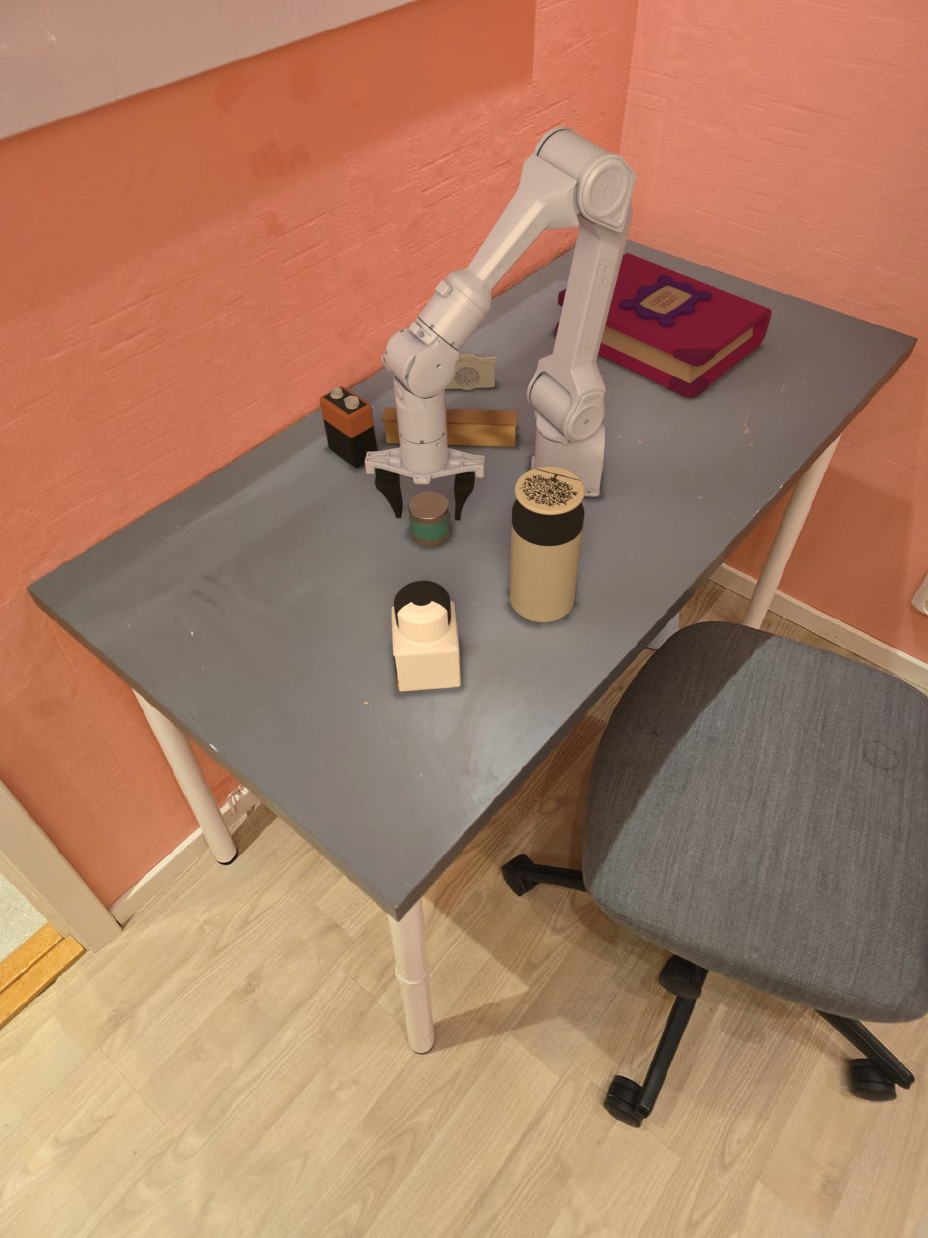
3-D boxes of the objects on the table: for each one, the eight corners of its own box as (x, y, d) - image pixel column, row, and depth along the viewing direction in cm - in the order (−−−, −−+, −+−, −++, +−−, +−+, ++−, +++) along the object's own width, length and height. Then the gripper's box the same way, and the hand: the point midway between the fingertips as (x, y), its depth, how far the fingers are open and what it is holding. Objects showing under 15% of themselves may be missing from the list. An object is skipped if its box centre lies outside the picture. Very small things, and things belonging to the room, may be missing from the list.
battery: (356, 470, 120) (347, 412, 113) (327, 449, 124) (316, 391, 116) (379, 456, 122) (372, 398, 115) (350, 436, 125) (341, 378, 118)
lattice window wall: (420, 391, 132) (418, 358, 128) (420, 385, 133) (418, 352, 129) (496, 388, 132) (496, 355, 128) (496, 382, 133) (496, 349, 129)
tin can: (451, 519, 113) (450, 491, 109) (448, 547, 110) (446, 519, 106) (413, 518, 114) (410, 490, 110) (408, 545, 110) (405, 517, 106)
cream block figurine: (396, 643, 100) (386, 575, 91) (456, 639, 100) (452, 569, 91) (398, 693, 95) (388, 625, 86) (461, 687, 95) (458, 620, 86)
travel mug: (555, 633, 100) (565, 523, 86) (497, 607, 103) (498, 497, 89) (585, 590, 104) (599, 479, 91) (529, 567, 107) (535, 455, 94)
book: (627, 286, 151) (632, 244, 146) (764, 343, 138) (776, 300, 133) (551, 334, 142) (554, 291, 136) (691, 400, 129) (701, 356, 123)
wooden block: (517, 428, 126) (518, 404, 122) (516, 448, 123) (516, 423, 119) (389, 425, 127) (386, 400, 124) (384, 444, 124) (381, 419, 121)
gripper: (356, 448, 97) (369, 533, 107) (481, 452, 96) (482, 538, 106) (365, 411, 101) (377, 496, 112) (485, 414, 100) (485, 500, 111)
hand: (428, 514), depth 109 cm, fingers open, 7 cm apart
